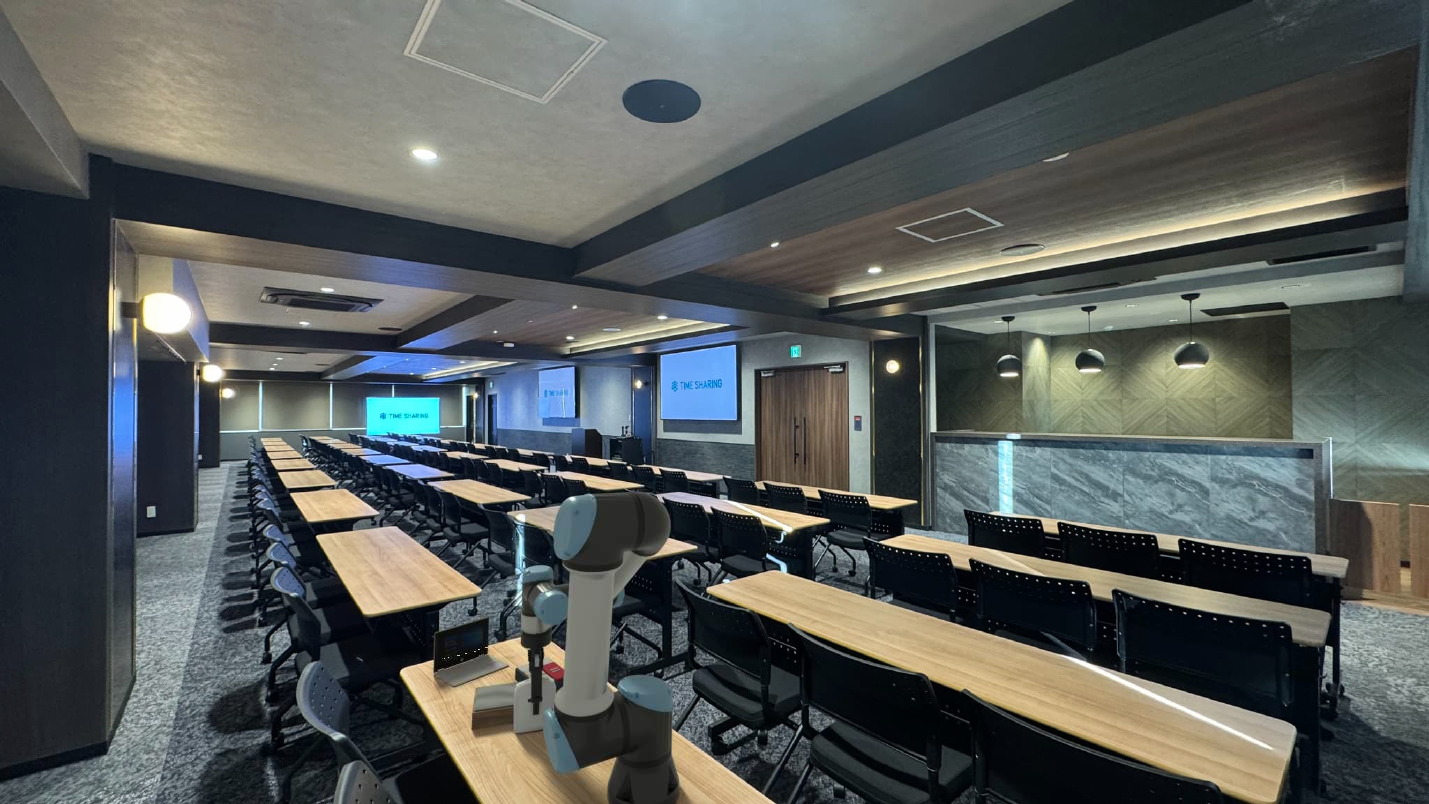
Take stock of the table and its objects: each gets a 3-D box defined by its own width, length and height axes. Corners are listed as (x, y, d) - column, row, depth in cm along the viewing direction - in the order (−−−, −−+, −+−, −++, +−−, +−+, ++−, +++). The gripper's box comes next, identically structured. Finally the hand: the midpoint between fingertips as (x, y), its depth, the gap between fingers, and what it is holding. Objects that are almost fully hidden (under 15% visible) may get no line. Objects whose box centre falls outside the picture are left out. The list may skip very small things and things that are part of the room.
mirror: (529, 720, 146) (530, 703, 146) (471, 729, 142) (472, 712, 142) (528, 694, 159) (529, 679, 160) (475, 702, 155) (475, 686, 155)
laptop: (453, 688, 163) (455, 643, 163) (432, 675, 170) (434, 632, 171) (509, 667, 177) (510, 625, 178) (487, 656, 185) (488, 616, 185)
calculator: (537, 685, 158) (514, 665, 169) (537, 700, 158) (514, 679, 169) (572, 673, 166) (548, 655, 177) (572, 688, 166) (548, 668, 177)
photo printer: (512, 735, 139) (514, 685, 139) (513, 726, 143) (514, 677, 143) (555, 729, 142) (557, 679, 143) (554, 720, 146) (556, 672, 147)
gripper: (555, 647, 133) (552, 736, 133) (549, 609, 156) (547, 685, 156) (521, 651, 130) (519, 742, 130) (520, 611, 154) (518, 689, 154)
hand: (534, 711), depth 143 cm, fingers open, 13 cm apart
